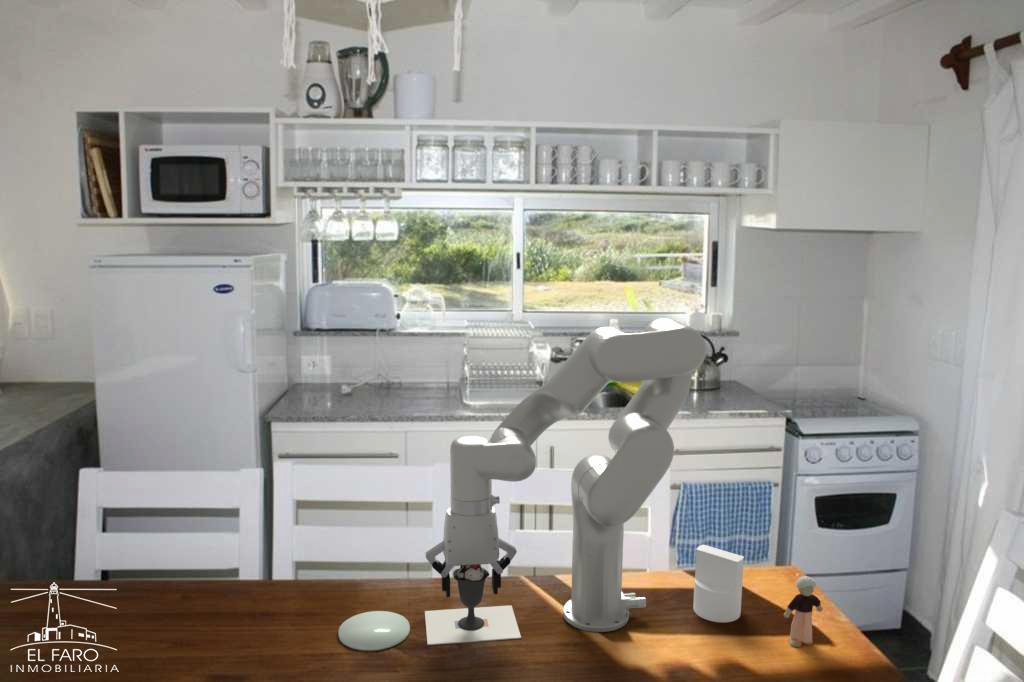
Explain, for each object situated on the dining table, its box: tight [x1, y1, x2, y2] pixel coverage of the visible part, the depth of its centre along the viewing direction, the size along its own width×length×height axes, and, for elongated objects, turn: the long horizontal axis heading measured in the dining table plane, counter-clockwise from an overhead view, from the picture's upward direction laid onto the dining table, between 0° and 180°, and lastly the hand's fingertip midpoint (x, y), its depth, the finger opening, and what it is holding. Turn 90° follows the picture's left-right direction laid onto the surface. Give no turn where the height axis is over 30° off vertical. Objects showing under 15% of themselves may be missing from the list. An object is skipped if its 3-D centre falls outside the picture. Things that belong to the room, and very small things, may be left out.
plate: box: [338, 610, 411, 652], centre depth 151 cm, size 13×13×1 cm
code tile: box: [424, 605, 522, 646], centre depth 153 cm, size 17×12×1 cm
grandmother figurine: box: [783, 575, 823, 648], centre depth 147 cm, size 8×4×13 cm, turn 117°
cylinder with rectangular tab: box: [692, 544, 745, 623], centre depth 158 cm, size 9×9×12 cm
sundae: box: [452, 564, 490, 630], centre depth 152 cm, size 7×7×15 cm
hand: (471, 592), depth 152 cm, fingers open, 8 cm apart
